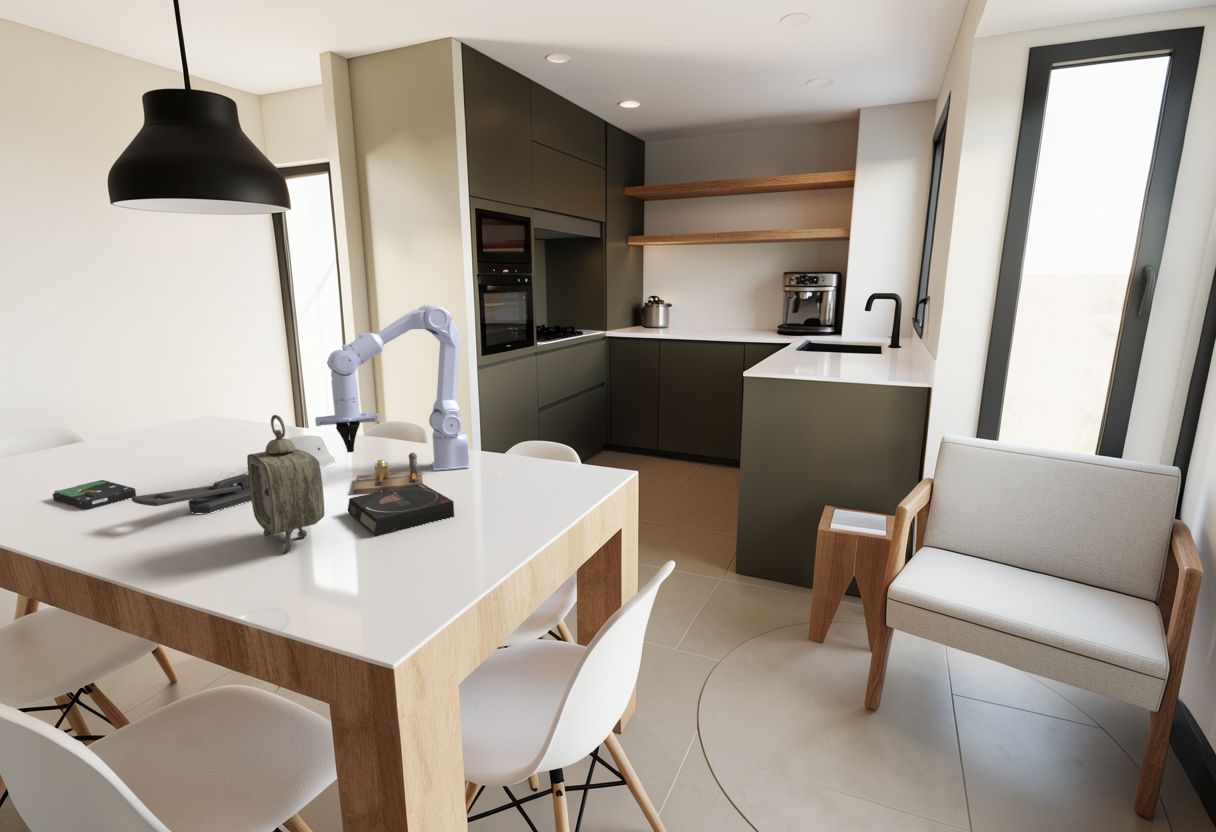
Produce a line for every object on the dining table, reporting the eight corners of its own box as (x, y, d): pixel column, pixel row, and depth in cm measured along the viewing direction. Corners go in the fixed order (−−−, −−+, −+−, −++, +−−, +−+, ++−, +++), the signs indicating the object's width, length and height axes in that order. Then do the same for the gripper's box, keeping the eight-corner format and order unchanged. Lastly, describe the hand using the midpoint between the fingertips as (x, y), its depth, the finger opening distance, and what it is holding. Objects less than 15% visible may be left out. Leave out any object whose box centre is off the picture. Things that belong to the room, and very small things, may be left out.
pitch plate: (422, 474, 162) (420, 448, 161) (422, 488, 151) (421, 460, 150) (357, 480, 157) (355, 453, 156) (353, 494, 146) (350, 465, 145)
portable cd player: (348, 516, 134) (346, 498, 133) (422, 499, 144) (421, 483, 144) (374, 539, 121) (373, 519, 120) (454, 518, 132) (453, 501, 131)
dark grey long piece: (125, 497, 125) (238, 465, 147) (130, 527, 126) (241, 491, 149) (154, 502, 121) (265, 469, 144) (159, 534, 123) (268, 496, 146)
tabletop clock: (255, 536, 121) (240, 413, 116) (303, 524, 127) (291, 406, 122) (279, 558, 111) (264, 424, 106) (330, 544, 117) (318, 417, 112)
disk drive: (138, 499, 145) (104, 489, 151) (136, 488, 144) (102, 478, 151) (86, 513, 136) (52, 502, 142) (84, 501, 135) (50, 490, 142)
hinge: (284, 478, 159) (271, 441, 158) (273, 482, 161) (260, 446, 161) (336, 462, 174) (324, 428, 173) (325, 465, 176) (314, 432, 176)
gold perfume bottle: (388, 473, 157) (387, 458, 156) (387, 481, 150) (386, 466, 150) (376, 474, 156) (375, 459, 155) (374, 483, 149) (373, 467, 149)
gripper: (311, 403, 146) (317, 457, 149) (376, 399, 150) (380, 452, 153) (315, 398, 153) (321, 450, 155) (377, 394, 157) (381, 446, 160)
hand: (350, 451), depth 155 cm, fingers closed
